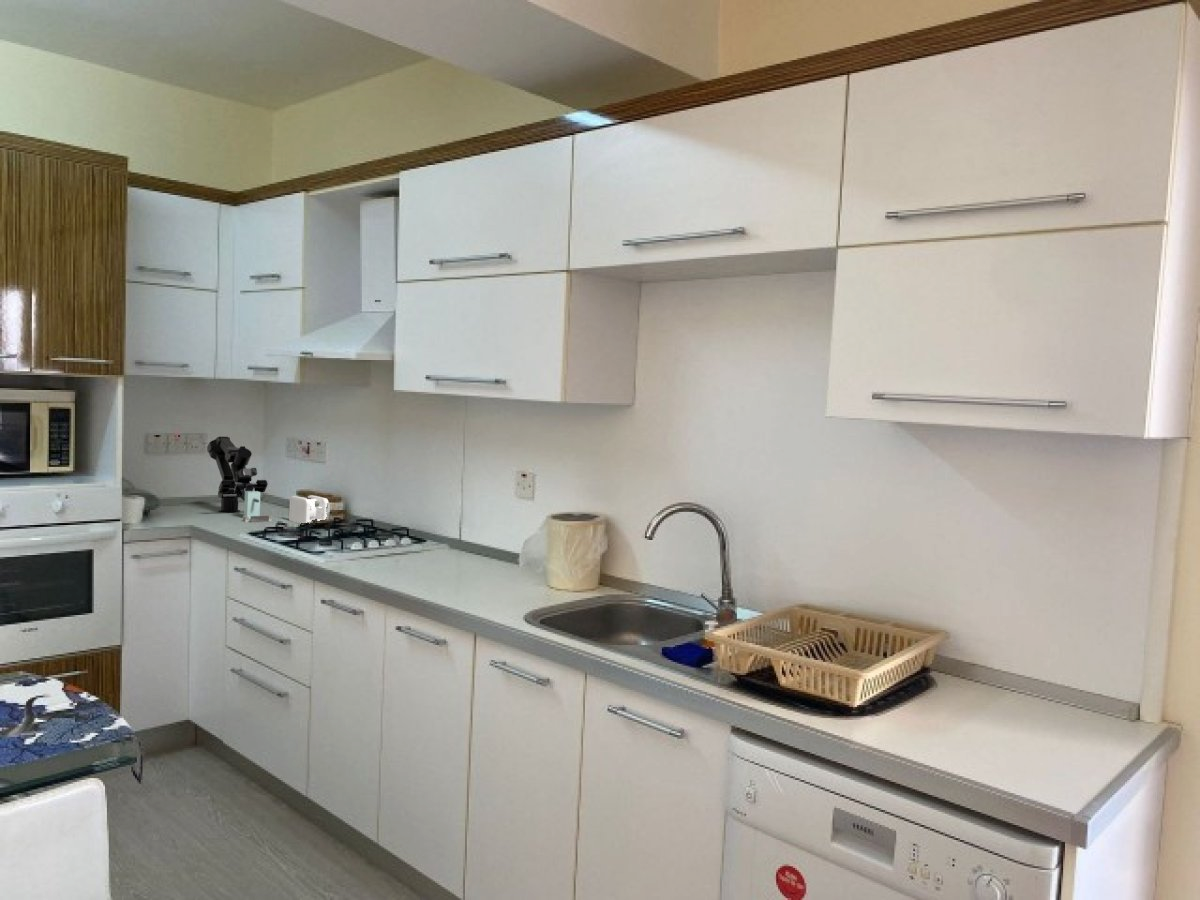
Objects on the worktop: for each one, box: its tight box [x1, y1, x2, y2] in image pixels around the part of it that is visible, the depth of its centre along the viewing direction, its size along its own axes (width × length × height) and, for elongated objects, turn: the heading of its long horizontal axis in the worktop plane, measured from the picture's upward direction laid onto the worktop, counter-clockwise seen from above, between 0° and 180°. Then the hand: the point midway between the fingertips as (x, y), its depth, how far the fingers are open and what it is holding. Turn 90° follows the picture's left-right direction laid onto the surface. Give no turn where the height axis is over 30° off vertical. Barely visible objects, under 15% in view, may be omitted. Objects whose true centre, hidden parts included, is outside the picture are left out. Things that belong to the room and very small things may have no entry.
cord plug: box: [243, 490, 261, 520], centre depth 361 cm, size 9×6×11 cm, turn 39°
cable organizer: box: [288, 494, 330, 525], centre depth 362 cm, size 15×11×12 cm
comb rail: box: [242, 515, 273, 523], centre depth 360 cm, size 16×12×4 cm
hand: (247, 502), depth 367 cm, fingers closed
